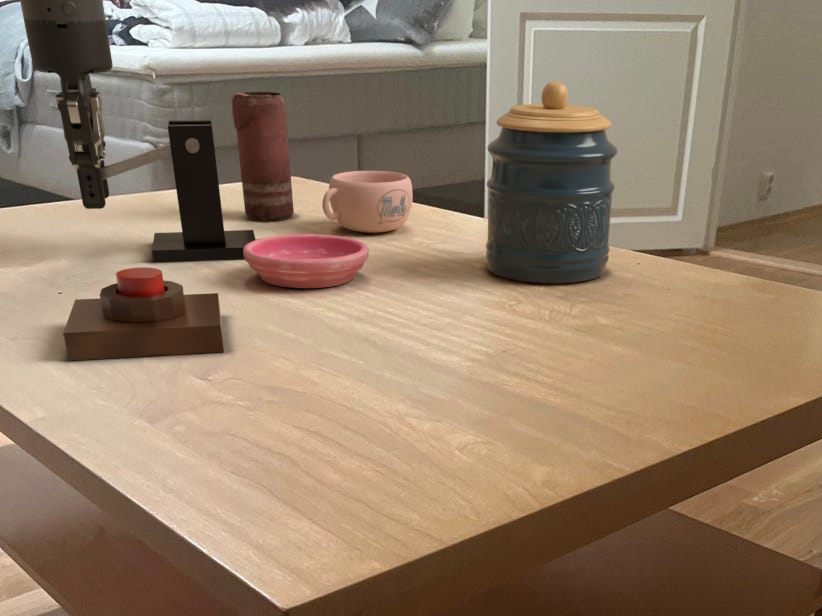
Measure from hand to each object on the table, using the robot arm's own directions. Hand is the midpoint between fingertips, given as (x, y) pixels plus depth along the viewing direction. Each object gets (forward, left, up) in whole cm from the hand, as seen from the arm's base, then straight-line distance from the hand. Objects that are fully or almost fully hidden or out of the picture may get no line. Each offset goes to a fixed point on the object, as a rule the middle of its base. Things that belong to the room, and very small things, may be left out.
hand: (97, 202), depth 106 cm
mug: (+30, +8, -6) cm, 31 cm away
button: (+6, -32, -2) cm, 33 cm away
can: (+19, +18, -6) cm, 26 cm away
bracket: (+11, 0, -5) cm, 12 cm away
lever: (+6, 0, +3) cm, 7 cm away
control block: (+6, -32, -5) cm, 33 cm away
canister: (+46, -15, -6) cm, 48 cm away
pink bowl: (+21, -14, -6) cm, 26 cm away
